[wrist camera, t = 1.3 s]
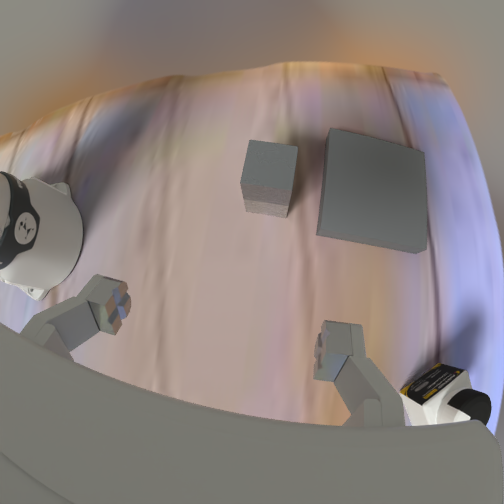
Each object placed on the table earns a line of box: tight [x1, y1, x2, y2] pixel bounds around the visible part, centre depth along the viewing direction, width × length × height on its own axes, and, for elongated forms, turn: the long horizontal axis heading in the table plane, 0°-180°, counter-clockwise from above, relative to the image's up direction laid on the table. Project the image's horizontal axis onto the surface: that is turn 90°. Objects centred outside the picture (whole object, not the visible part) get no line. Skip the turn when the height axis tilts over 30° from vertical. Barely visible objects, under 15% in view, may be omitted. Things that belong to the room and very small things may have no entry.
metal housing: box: [240, 140, 298, 218], centre depth 32 cm, size 5×5×9 cm
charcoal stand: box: [316, 128, 427, 254], centre depth 35 cm, size 14×14×3 cm
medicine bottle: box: [400, 363, 491, 426], centre depth 25 cm, size 7×7×12 cm
